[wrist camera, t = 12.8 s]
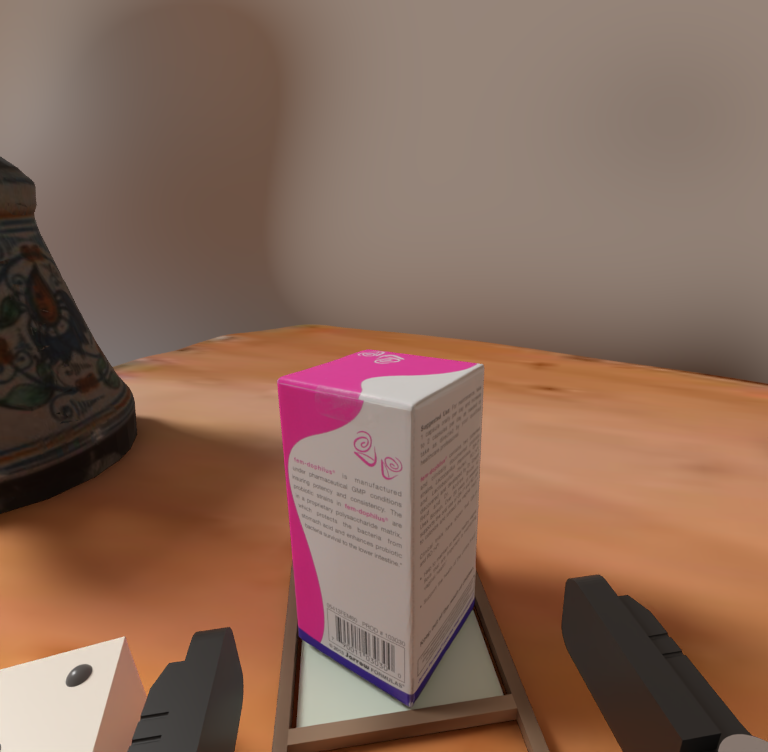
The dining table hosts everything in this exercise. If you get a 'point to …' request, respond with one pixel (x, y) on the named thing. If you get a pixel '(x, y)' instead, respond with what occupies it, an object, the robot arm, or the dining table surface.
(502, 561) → the dining table surface
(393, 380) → the supplement box
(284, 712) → the brown frame
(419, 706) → the tile
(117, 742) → the die
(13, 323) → the beer stein
